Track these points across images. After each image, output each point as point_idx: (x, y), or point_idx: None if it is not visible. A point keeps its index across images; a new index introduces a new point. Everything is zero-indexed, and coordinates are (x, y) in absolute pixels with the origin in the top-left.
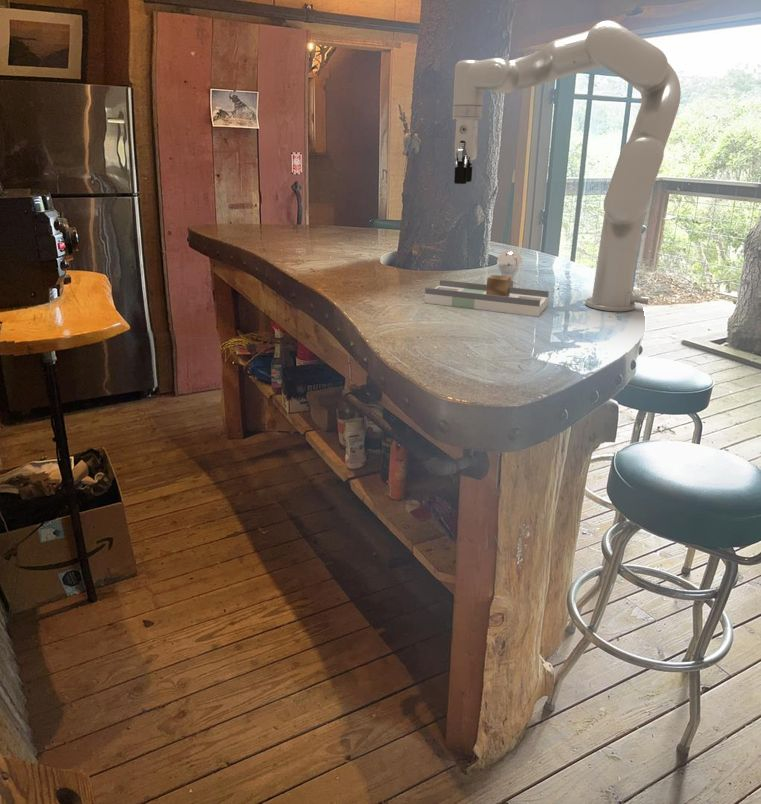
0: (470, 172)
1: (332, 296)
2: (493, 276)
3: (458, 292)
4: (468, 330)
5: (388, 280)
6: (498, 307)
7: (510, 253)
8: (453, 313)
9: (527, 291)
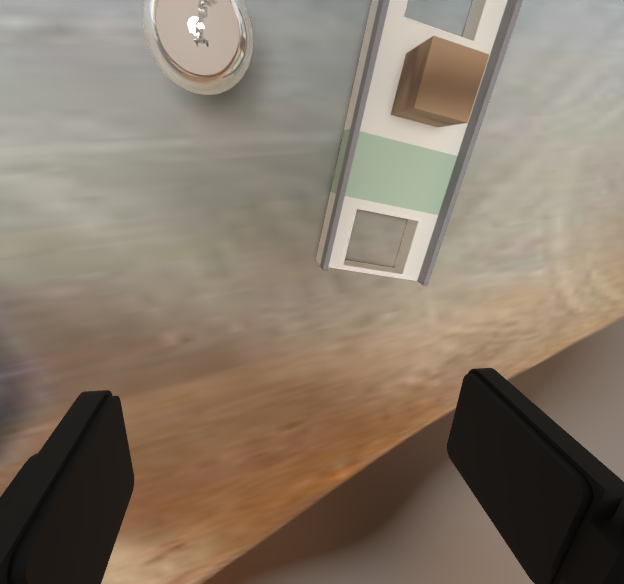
0: (73, 485)
1: (391, 438)
2: (439, 103)
3: (453, 202)
4: (612, 153)
5: (203, 400)
6: None
7: (231, 21)
8: (491, 199)
9: None
